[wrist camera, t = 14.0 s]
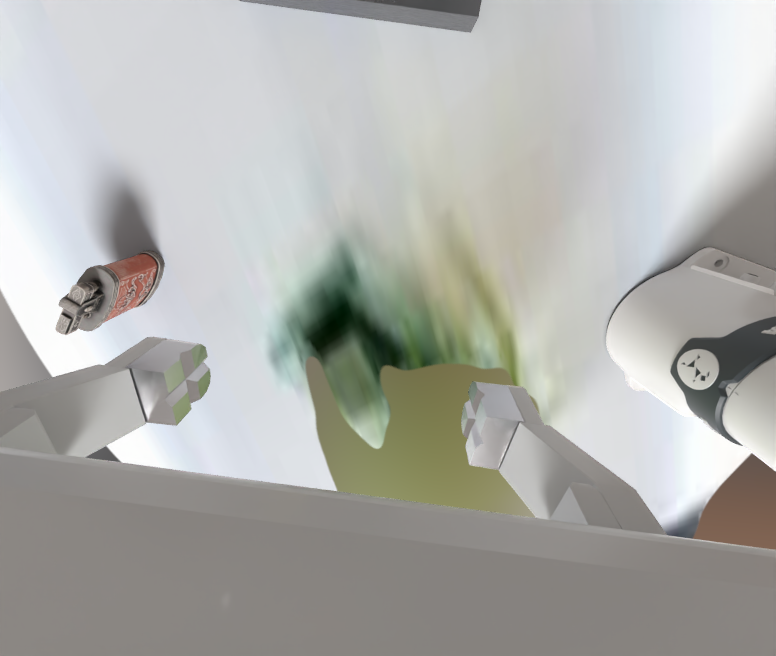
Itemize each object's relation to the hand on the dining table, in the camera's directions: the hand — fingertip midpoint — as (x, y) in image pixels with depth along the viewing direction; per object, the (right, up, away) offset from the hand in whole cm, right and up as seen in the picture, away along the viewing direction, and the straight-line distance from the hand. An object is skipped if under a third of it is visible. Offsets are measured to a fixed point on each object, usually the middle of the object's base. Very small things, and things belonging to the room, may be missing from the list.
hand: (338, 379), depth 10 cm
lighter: (-28, +8, +29) cm, 41 cm away
